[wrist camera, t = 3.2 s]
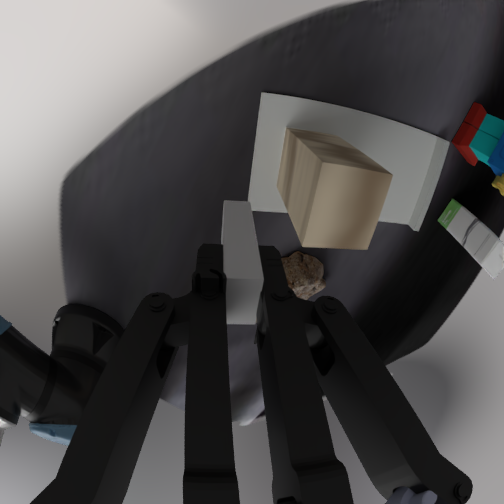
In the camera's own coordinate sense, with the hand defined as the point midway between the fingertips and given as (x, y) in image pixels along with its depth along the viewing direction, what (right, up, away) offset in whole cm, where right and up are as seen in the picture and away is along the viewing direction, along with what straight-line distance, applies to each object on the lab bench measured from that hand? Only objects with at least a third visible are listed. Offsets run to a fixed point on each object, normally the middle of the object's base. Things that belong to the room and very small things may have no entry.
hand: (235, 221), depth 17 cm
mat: (+13, +9, +15) cm, 22 cm away
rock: (+5, -7, +26) cm, 27 cm away
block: (+7, +9, +14) cm, 18 cm away
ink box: (+35, +4, +21) cm, 41 cm away
